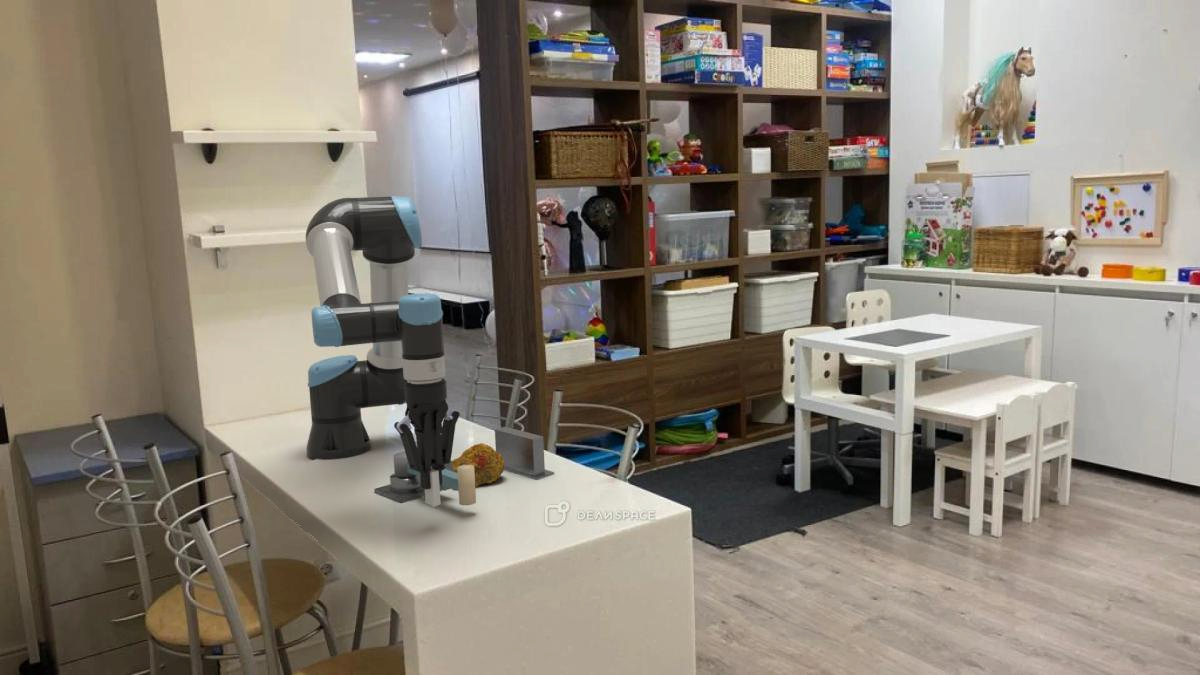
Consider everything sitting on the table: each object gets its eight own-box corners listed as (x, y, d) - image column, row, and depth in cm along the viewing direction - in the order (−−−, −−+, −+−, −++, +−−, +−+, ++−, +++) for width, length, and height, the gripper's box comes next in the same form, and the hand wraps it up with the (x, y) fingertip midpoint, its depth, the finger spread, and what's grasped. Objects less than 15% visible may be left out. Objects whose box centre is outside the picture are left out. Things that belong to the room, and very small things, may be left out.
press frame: (374, 492, 185) (371, 450, 184) (494, 457, 207) (492, 420, 206) (431, 516, 170) (428, 471, 169) (554, 475, 192) (552, 435, 191)
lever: (390, 480, 185) (388, 448, 184) (415, 473, 189) (413, 441, 188) (462, 508, 167) (459, 472, 166) (487, 499, 171) (485, 464, 170)
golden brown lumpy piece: (483, 506, 185) (444, 480, 183) (477, 501, 193) (439, 475, 191) (513, 462, 187) (475, 435, 185) (506, 458, 195) (469, 432, 193)
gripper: (405, 388, 153) (414, 518, 157) (466, 376, 162) (473, 499, 166) (382, 383, 158) (391, 508, 162) (442, 371, 168) (450, 490, 171)
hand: (433, 503), depth 164 cm, fingers closed
